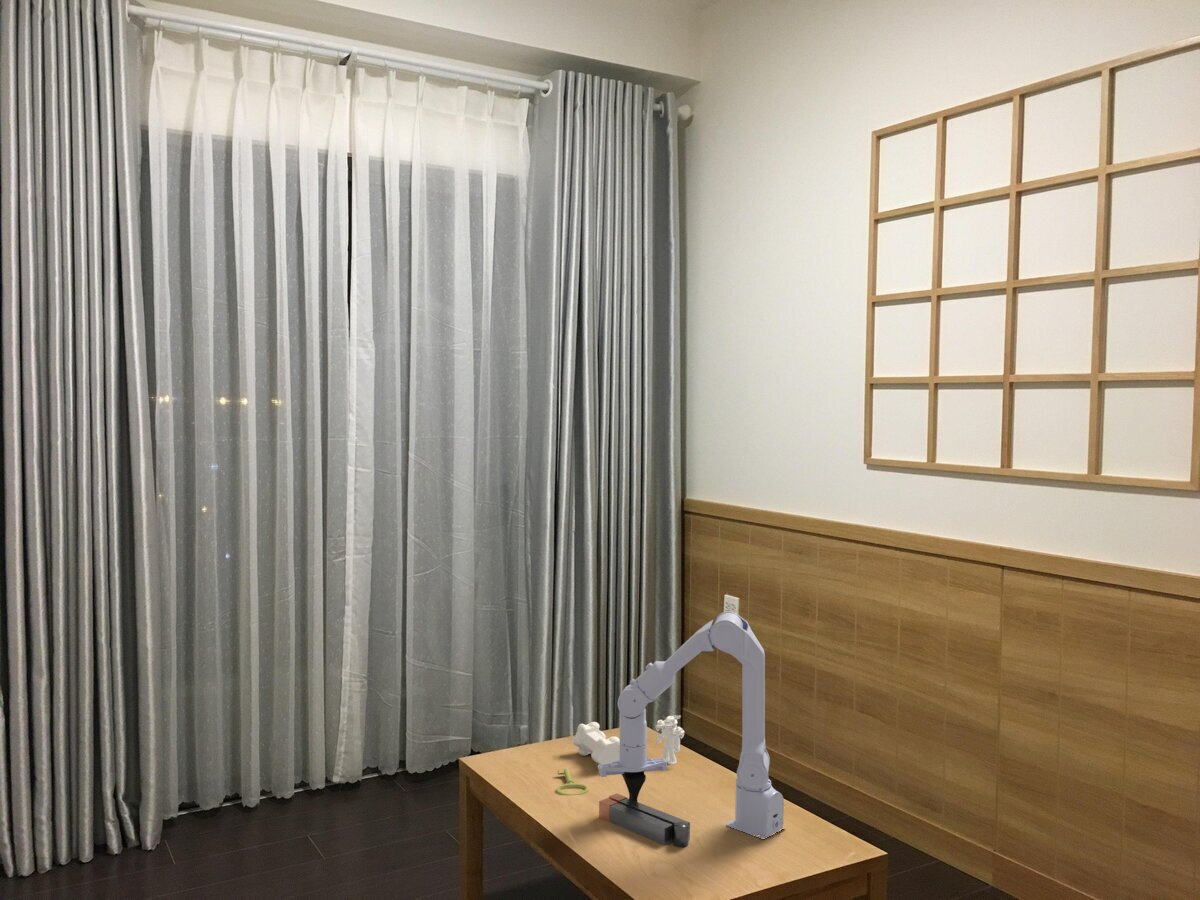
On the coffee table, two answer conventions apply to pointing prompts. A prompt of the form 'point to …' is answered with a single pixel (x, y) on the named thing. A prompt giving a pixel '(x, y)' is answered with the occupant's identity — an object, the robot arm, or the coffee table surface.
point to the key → (570, 784)
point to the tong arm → (679, 826)
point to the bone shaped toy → (596, 744)
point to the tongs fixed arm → (635, 821)
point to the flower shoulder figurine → (670, 737)
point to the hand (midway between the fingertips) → (632, 806)
